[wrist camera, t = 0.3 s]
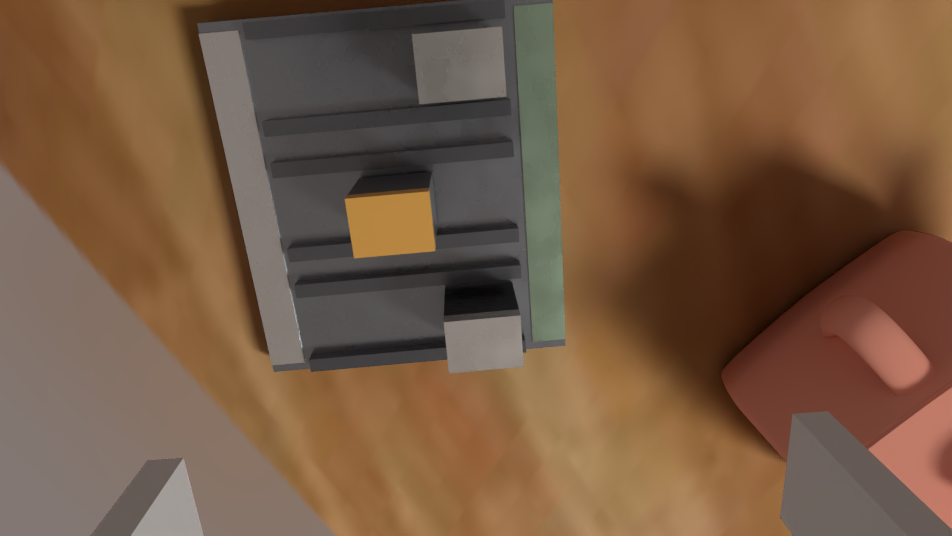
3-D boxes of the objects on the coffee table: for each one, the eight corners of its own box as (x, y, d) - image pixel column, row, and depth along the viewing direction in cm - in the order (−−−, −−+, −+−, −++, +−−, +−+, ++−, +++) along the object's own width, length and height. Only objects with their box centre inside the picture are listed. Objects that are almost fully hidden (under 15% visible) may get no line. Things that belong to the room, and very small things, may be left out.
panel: (208, 24, 33) (153, 19, 27) (547, -6, 33) (568, -17, 27) (280, 360, 39) (249, 415, 34) (561, 334, 40) (580, 386, 34)
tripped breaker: (359, 178, 34) (344, 198, 29) (431, 171, 34) (428, 191, 29) (367, 230, 35) (354, 258, 30) (437, 224, 35) (435, 251, 30)
